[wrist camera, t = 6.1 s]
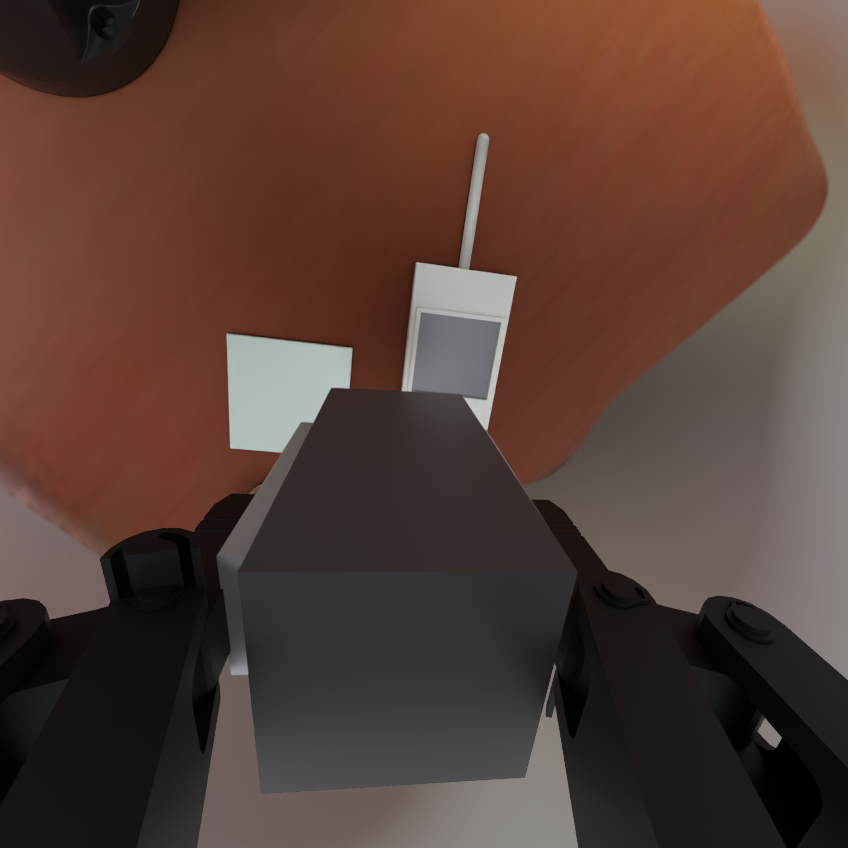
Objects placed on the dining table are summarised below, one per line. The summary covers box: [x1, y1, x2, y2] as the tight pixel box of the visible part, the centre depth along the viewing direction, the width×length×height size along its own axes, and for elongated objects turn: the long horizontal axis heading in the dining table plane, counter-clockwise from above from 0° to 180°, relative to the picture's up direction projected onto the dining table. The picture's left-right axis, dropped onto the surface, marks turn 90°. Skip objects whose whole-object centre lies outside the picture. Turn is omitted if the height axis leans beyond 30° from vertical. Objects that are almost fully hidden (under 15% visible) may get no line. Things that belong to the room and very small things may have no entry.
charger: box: [238, 388, 578, 794], centre depth 10 cm, size 4×5×9 cm
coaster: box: [227, 333, 353, 452], centre depth 31 cm, size 9×9×1 cm
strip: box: [401, 133, 517, 430], centre depth 27 cm, size 28×7×7 cm, turn 173°
